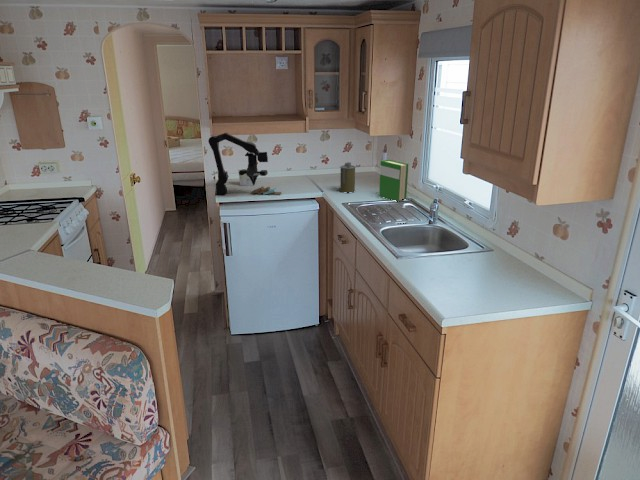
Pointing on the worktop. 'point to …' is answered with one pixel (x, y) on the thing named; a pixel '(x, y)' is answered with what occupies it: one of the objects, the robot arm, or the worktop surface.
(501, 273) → the worktop surface
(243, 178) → the light bulb box
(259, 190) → the domino
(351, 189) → the canister
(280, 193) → the domino
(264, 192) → the teal domino
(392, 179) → the hardback book
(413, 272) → the worktop surface
